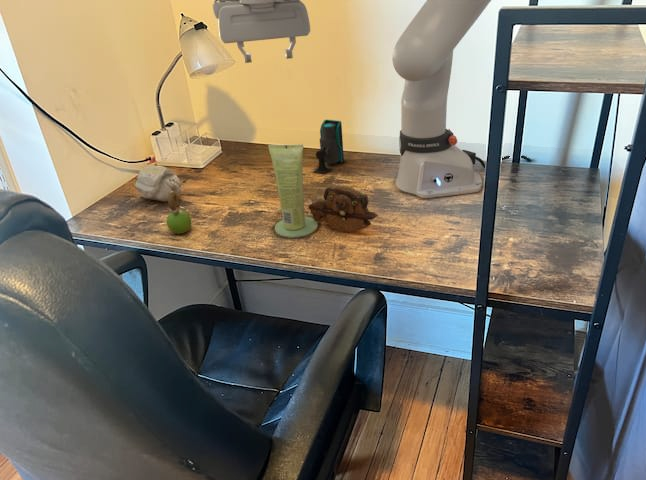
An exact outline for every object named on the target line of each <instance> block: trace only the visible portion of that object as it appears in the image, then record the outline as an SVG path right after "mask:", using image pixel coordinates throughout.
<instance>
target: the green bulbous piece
mask: <svg viewBox="0 0 646 480" xmlns="http://www.w3.org/2000/svg"><path fill="white" fill-rule="evenodd" d="M169 181H170V182H171V179H169ZM172 181H174V179H172ZM170 188H171V191H170V192H169V194H168V201H167V202H168V203H167V204H168V207H169V209H170V210H171V212H170V213H169V214H168V215H167V216H166V217H167V218H166V225H167V228H168V229H169V231H170V232H172V233H174V234H178V235H179V234H181V235H182V234H185V233H187V232H188V231H189V230H190V228H191V227H192V218H191V215H190V214H189V213H187V211H184V210H181V209H180V200H179V196H178V194H177V190H176V185H175V184H171V185H170Z"/></svg>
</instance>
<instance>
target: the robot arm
mask: <svg viewBox="0 0 646 480" xmlns="http://www.w3.org/2000/svg"><path fill="white" fill-rule="evenodd" d="M491 2H492V0H426V1H425V2H424V4H423V5H422V6H421V7H420V9H419V10H418V12H417V13H416V14H415V16H414V17H413V18H412V20H411V21H410V23H408V25H407V26H406V28H405V29H404V31H403V32H402V33H401V35H400V37H398V39H397V41H396V43H395V45H394V48H393V51H392V55H391V56H392V57H391V58H392V66H393V68H394V70H395V72H396V73H397V75H398V76H400V77H401V78H402V79H404V85H403V90H402V95H401V101H400V105H401V106H400V108H401V109H400V115H401V117H400V118H401V119H400V121H401V125H400V127H401V128H400V131H399V136H398V148H399V149H398V151H399V154H400V156H399V166H398V171H397V176H396V179H395V182H394V183H395V186H396V187H397V188H398V189H399V190H400V191H402V192H405V193H408V194H411V195H415V196H417V197H419V198H421V199H433V198H440V197H448V196H457V195H464V194H472V193H473V194H474V193H478V192H479V193H480V191H481V190H482V188H483V179H482V177H481V175H480V173H479V172H477V171H476V170H475V167H474V165H476V161H478V162H479V163H480V165H481V166H482V168H483V169H485V165H486V163H485V162H484V161H483V159H482V158H481V157H478V156H477V153H476V152H473V151H470V150H468V149H467V150H466V149H461V148H459V147H458V146H456V145H457V144H458V138H457V136H455V135H454V132H452V130H451V129H450V128H448V129H447V110H448V109H447V108H448V95H449V89H450V81H451V75H452V66H453V59H454V57H453V56H454V50H455V48H456V47H458V44H459V43H461V41H462V39H463V38H464V37H465V35H466V34H467V33H468V32H469V30H470V29H471V28H472V27H473V25H474V24H475V23H476V22H477V20H478V19H479V18H480V16H481V15H482V14H483V12H484V11H485V10H486V8H487V7H488V5H489V4H490V3H491ZM212 10H213V15H214V17H215V19H217V22H218V23H217V24H218V33H219V35H218V36H219V39H220V41H221V42H222V43H223V44H234V43H236V45H237V48H238V50H239V51H240V52H241V54H242V55H243V59H244V63H245V64H250V63H252V54H251V53H250V52H246V50H245V49H244V48H245V42H246V43H247V42H254V41H255V42H256V41H265V40H277V39H286V38H287V39H288V41H289V45H288V48H287V49H284V53H285V55H284V56H285V59H286V60H288V59H293V56H294V55H293V50H294V47H295V45H296V43H297V40H296V39H297V38H298V37H307V36H309V34H310V33H311V24H310V23H311V22H310V18H309V12H308V9H307V7H306V5H305V4H304V2H303V1H301V0H214V1H213V3H212ZM296 37H297V38H296ZM521 155H522V156H521V158H520V159H523V160H525V161H527V162H529V163H532V162H533V160H532V159H531V158H530V157H528V156H526V155H523V154H521ZM503 157H504V158H503ZM509 157H510V156H509V155H505V156H502V161H505V160H508V159H510V158H509ZM527 157H528V158H527Z"/></svg>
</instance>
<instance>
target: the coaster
mask: <svg viewBox="0 0 646 480" xmlns="http://www.w3.org/2000/svg"><path fill="white" fill-rule="evenodd" d="M318 228H319V222H316V221H314V218H313V217H311V216H308V215H307V216H306V215H305V226H304V227H303V228H301V229H298V230H289V229H286V228H285V227H284V223H283V219H281V220H279V221H278V222H277V223H276V224H275V225H274V232H275V233H276V234H277V235H278V236H279V237H282V238H288V239H298V238H304V237H306V236H310V235H311V234H313V233H314V232H316V231H317V229H318Z"/></svg>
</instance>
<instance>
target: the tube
mask: <svg viewBox="0 0 646 480" xmlns="http://www.w3.org/2000/svg"><path fill="white" fill-rule="evenodd" d="M267 147H268V151H269V155H270V158H271V162H272V168H273V172H274V176H275V181H276V182H275V183H276V187H277V191H278V192H277V193H278V197H279V204H280V210H281V215H282V220H283V223H284V227H285V228H286V229H289V230H298V229H301V228H303V227H304V226H305V216H306V215H305V214H306V213H305V201H304V177H303V176H304V173H303V172H304V169H303V168H304V167H303V165H304V164H303V163H304V161H303V159H304V157H303V156H304V144H303V143H302V144H268V145H267Z"/></svg>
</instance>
